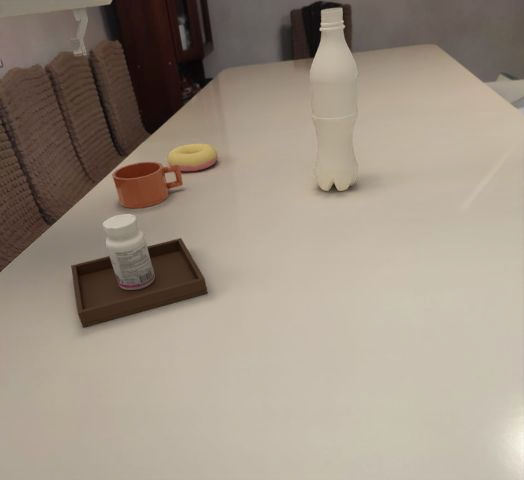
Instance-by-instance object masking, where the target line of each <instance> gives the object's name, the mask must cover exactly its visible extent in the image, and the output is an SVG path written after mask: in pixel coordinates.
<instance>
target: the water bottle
mask: <svg viewBox="0 0 524 480" xmlns="http://www.w3.org/2000/svg"><path fill="white" fill-rule="evenodd" d="M343 13H344V11H343V7H331V8H325V9H321V11H320V17H321V18H320V20H321V22H320V27H319V31H320V32H321V33H320V42H319V45H318V47H317V50H316V53H315V55H314V57H313V61H312V63H311V66H310V70H309V75H308V76H309V77H308V81H309V82H310V83H309V85H310V86H309V87H310V109H311V113H310V118H311V120H312V123H313V126H314V128H315V133H316V142H317V155H316V161H315V164H314V167H313V173H314V178H315V179H316V183H317V185H318V186H319V188H320V189H321V190H322V191H326V192H329V191H330V190H331V189H332V186H334V185H335V188H336V190H337V191H338V192H343V191H346V190H348V188H349V187H350V186H353V185H354V184H355V183H356V181H357V178H358V172H359V163H358V162H357V161H358V160H357V158H356V154H355V150H354V141H353V138H354V129H355V125H356V121H357V119H358V116H359V108H358V76H359V69H358V66H357V63H356V60H355V58H354V56H353V54H352V51H351V49H350V47H349V46H348V43H347V41H346V38H345V33H344V29H345V28H346V25H345V24H344V22H345V21H344V19H343V18H344V17H343Z"/></svg>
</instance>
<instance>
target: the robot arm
mask: <svg viewBox="0 0 524 480" xmlns="http://www.w3.org/2000/svg"><path fill="white" fill-rule="evenodd" d="M112 2H113V0H0V20H1V19H7V18H16V17H23V16H29V15H31V16H32V15H39V14H48V13H53V12H54V13H55V12H61V11H69V10H70V11H72V14H73V17H74V20H75V21H77V22H79V23H78V26H77V32H76V35H75V37H70V38H69V43H70V46H71V47H72V48H71V49H72V53H73V57H77V58H78V57H83V56H87V55H88V53H87V48H86V45H85V41H84V38H85V35H86V31H87V28H88V27H87V26H88V22H89V17H88V13H87V9H86V8H94V7H101V6H107V5H108V6H109V5H111V4H112ZM1 68H4V62H3V59H2V58H1V57H0V69H1Z"/></svg>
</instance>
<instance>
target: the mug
mask: <svg viewBox="0 0 524 480" xmlns="http://www.w3.org/2000/svg"><path fill="white" fill-rule="evenodd" d="M173 172H174V175H175V180H173V181H169V182H167V178H166V174H168V173H173ZM181 172H182V171H180V167H179V165H172V166H170V165H168V166H163V164H162V163H160V162H157V161H140V162H135V163H130V164H127V165H124V166H121V167H119V168H118V169H116V170H114V172H113V173H112V174H111V175H112V180H113V183H114V186H115V190H116V194H117V197H118V200H119V203H120V205H121V206H122V207H124V208H127V209H141V208H148V207H152V206H156V205H158V204H160V203H162V202H164V201H166V200H167V199H168V198H169V195H170V194H169V189H170V190H171V189H174V188H178V187H182V186H183V184H184V182H183V178H182V173H181Z"/></svg>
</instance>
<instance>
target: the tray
mask: <svg viewBox="0 0 524 480" xmlns="http://www.w3.org/2000/svg"><path fill="white" fill-rule="evenodd" d="M147 248H148V252H149V256H150V260H151V263H152V267H153V270H154V274H155V279H154V281H153V282H152V283H151V284H150V285H149V286H147V287H145V288H142V289H138V290H125V289H122V288H121V287H120V286H119V284H118V281H117V278H116V275H115V272H114V269H113V266H112V263H111V260H110V257H109V255H108V256H104V257H100V258H95V259H92V260H88V261H84V262H80V263H76V264H72V265H71V273H72V281H73V288H74V296H75V305H76V310H77V316H78V318H79V320H80V323H81V325H82V328H87V327H91V326H93V325H97V324H100V323H104V322H108V321H112V320H115V319H119V318H123V317H126V316H130V315H133V314H136V313H141V312H144V311H145V312H146V311H148V310H151V309H155V308H159V307H162V306H166V305H169V304H173V303H177V302H180V301H184V300H187V299H188V300H189V299H191V298H192V299H193V298H195V297H198V296H199V297H200V296H203V295H207V294H208V288H207V283H206V279H205V277H204V275H203V273H202V271H201V270H200V268H199V266H198V265H197V262H196V261H195V259H194V257H193V256H192V254H191V253H190V251H189V249H188V247H187V245H186V244H185V242H184V240H183V239H182V238H181V237H180V238H179V237H178V238H176V239H172V240H167V241H163V242H159V243H156V244H150V245H147Z"/></svg>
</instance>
